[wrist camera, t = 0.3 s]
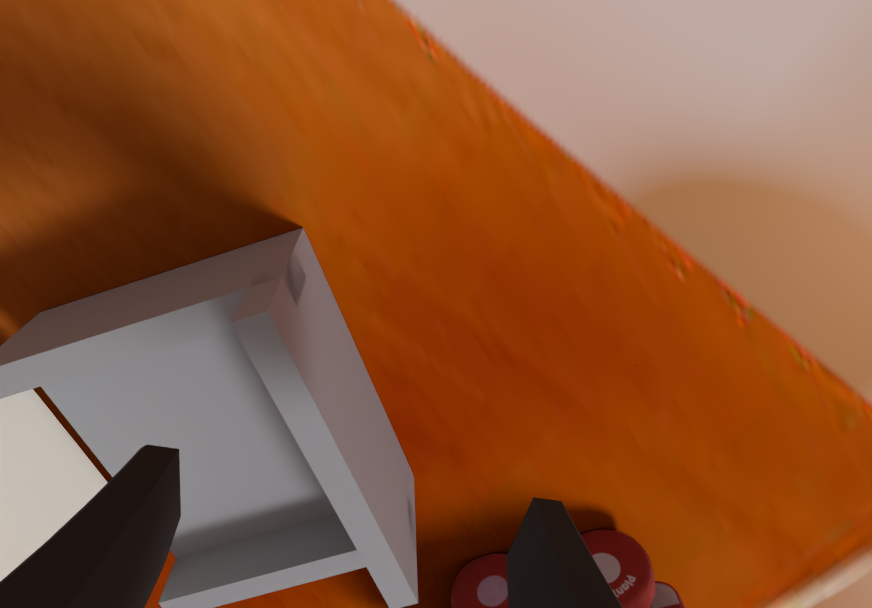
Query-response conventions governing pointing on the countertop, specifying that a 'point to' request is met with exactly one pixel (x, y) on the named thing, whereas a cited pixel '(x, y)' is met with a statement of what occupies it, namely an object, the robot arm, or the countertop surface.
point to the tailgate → (37, 478)
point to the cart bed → (237, 420)
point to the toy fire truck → (612, 551)
